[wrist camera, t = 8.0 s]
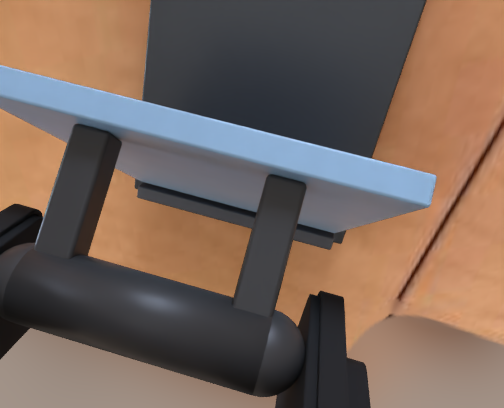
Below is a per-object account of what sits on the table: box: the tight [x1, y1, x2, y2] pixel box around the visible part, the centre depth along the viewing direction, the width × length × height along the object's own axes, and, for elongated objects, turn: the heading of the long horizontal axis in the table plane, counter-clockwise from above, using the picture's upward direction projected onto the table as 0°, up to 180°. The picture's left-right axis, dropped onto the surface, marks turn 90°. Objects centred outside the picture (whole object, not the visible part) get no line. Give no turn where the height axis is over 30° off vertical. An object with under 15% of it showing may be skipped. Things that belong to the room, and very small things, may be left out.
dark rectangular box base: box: [135, 0, 426, 250], centre depth 17 cm, size 12×10×2 cm
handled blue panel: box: [0, 65, 436, 397], centre depth 13 cm, size 11×9×5 cm
